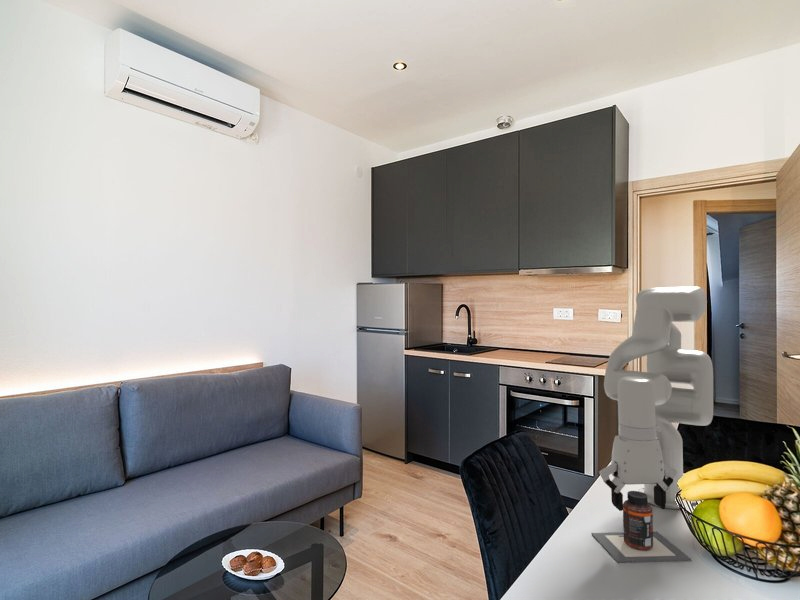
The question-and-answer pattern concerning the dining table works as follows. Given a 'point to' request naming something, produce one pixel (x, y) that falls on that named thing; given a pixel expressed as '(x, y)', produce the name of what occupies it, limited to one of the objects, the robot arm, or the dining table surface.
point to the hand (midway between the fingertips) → (638, 507)
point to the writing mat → (625, 553)
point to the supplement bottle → (637, 521)
